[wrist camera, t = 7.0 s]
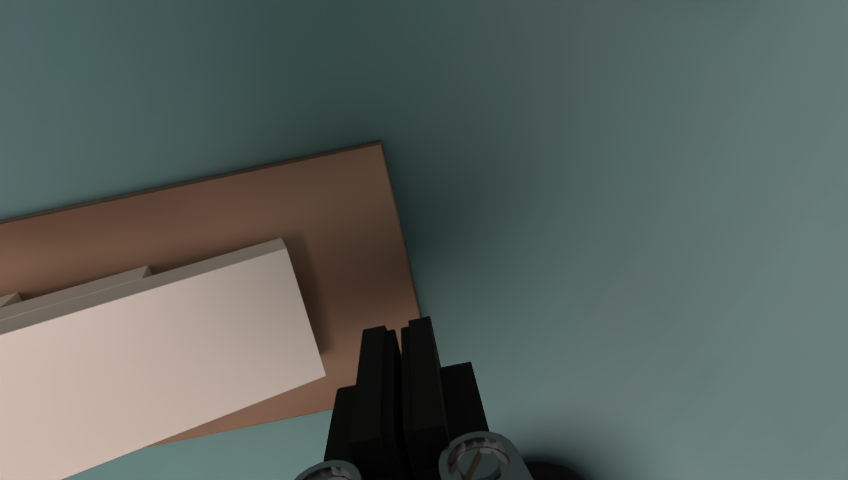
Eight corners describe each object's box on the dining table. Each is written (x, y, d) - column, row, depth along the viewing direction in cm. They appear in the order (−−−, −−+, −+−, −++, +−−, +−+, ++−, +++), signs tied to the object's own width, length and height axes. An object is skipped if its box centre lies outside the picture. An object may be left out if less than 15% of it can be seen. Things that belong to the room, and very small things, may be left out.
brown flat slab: (-303, 284, 18) (-349, 297, 17) (381, 140, 18) (380, 144, 17) (-151, 490, 21) (-182, 513, 20) (433, 371, 21) (435, 388, 20)
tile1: (318, 356, 19) (23, 467, 16) (281, 237, 18) (-53, 336, 15) (326, 375, 18) (4, 501, 15) (286, 248, 16) (-83, 360, 13)
